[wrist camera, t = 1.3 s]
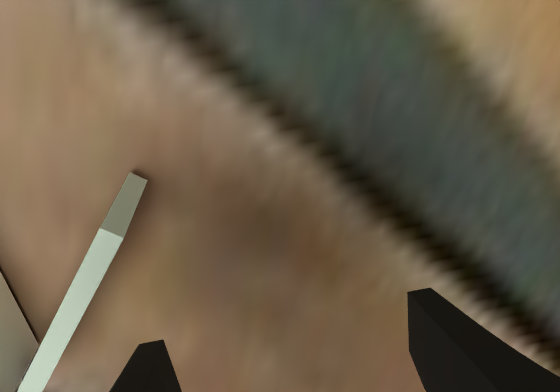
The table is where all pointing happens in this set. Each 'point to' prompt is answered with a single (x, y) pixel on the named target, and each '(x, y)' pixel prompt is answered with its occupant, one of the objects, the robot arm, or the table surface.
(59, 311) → the door
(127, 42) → the table surface
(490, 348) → the robot arm
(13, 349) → the cabinet
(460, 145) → the table surface
